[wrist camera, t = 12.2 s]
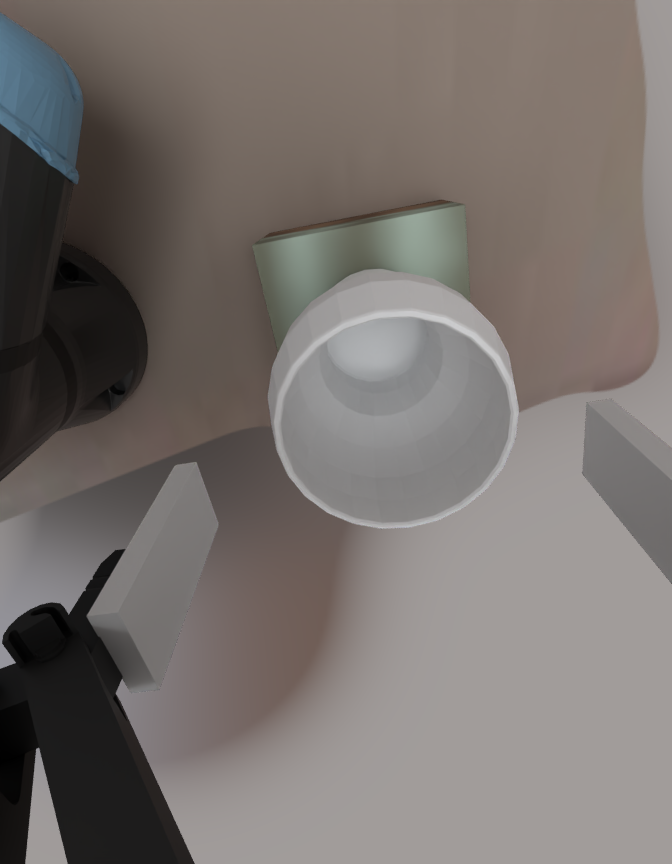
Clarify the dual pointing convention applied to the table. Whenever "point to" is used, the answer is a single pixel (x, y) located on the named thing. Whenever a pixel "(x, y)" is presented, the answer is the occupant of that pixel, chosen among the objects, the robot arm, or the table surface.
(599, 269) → the table surface
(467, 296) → the tower base
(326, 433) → the cup
